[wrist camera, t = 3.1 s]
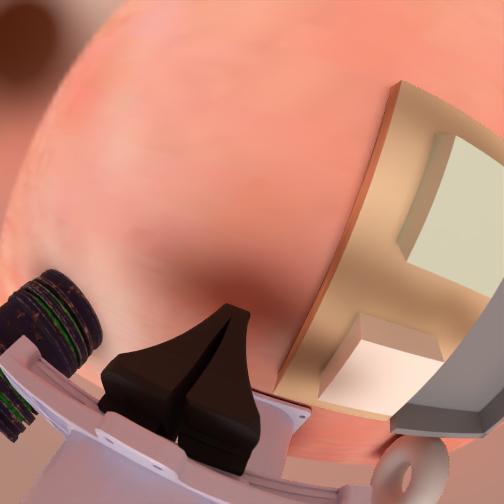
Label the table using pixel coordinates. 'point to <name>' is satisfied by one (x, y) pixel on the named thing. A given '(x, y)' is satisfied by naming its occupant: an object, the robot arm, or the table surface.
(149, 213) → the table surface
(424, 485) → the donut
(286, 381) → the oak board
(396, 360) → the cream tile
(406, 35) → the table surface
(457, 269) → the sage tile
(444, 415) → the box
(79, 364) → the storage jar
